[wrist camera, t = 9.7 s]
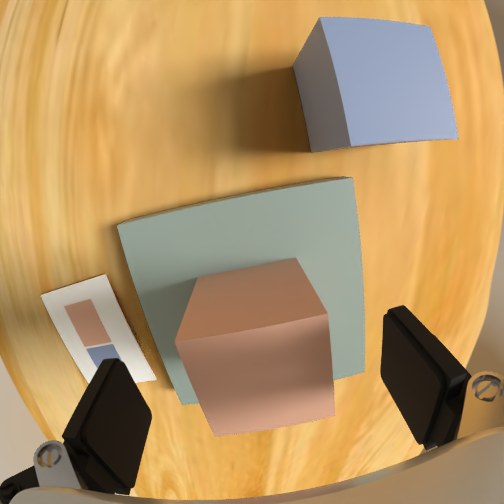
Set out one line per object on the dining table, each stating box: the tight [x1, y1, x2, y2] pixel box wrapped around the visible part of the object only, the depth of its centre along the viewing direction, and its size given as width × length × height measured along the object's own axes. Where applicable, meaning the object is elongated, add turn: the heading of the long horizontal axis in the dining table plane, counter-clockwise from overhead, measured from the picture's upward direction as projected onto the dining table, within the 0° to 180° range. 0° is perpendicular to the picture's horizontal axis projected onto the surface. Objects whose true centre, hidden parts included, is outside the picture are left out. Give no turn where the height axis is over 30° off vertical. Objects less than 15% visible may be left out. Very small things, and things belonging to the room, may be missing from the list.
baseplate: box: [117, 176, 365, 405], centre depth 16 cm, size 12×12×2 cm
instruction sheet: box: [40, 274, 157, 384], centre depth 18 cm, size 8×6×1 cm
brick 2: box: [293, 17, 458, 153], centre depth 11 cm, size 5×5×6 cm
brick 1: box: [175, 258, 335, 436], centre depth 13 cm, size 5×5×6 cm
